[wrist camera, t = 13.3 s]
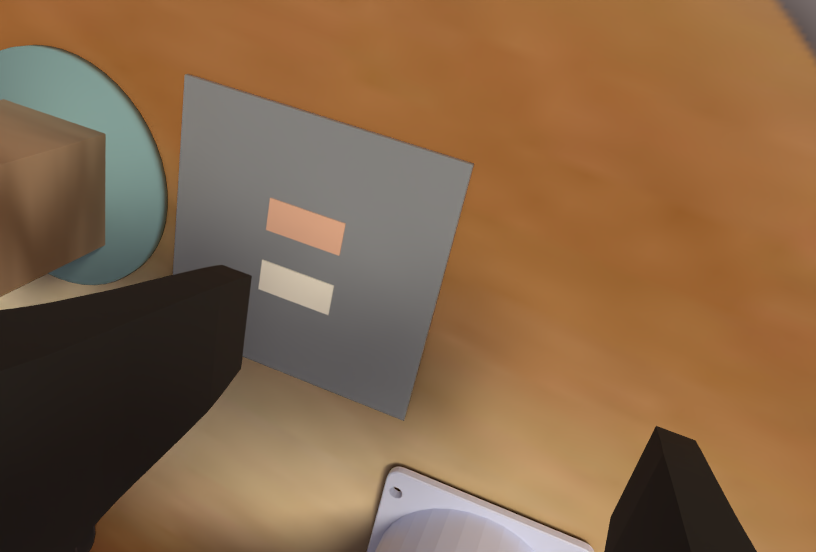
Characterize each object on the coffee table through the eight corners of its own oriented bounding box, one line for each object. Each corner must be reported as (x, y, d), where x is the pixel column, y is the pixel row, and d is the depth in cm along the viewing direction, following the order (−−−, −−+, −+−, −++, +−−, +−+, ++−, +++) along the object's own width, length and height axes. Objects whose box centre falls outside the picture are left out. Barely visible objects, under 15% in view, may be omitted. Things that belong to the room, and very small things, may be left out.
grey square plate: (405, 418, 25) (403, 422, 25) (172, 325, 27) (168, 328, 27) (474, 163, 21) (472, 165, 20) (187, 73, 23) (183, 74, 22)
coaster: (161, 310, 27) (153, 316, 27) (-22, 238, 29) (-32, 242, 28) (173, 84, 23) (164, 86, 22) (-41, 16, 25) (-54, 16, 24)
